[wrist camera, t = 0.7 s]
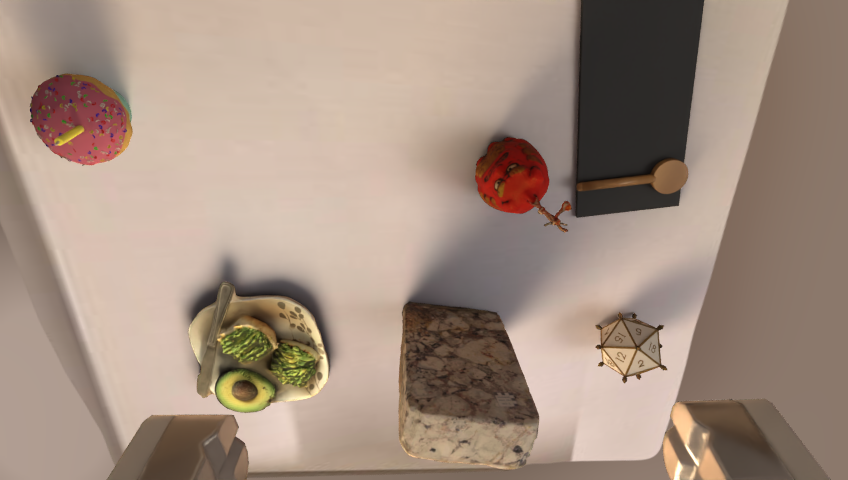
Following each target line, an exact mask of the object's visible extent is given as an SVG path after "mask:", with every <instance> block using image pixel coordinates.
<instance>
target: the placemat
mask: <svg viewBox="0 0 848 480" xmlns="http://www.w3.org/2000/svg"><path fill="white" fill-rule="evenodd" d="M703 6H704V0H581V35H580V72H579V109H578V146H577V184H578V183H580V182H589V181H597V180H606V179H614V178H623V177H631V176H640V175H648V174H651V171H652V169H653V168H654V166H655V165H656V164H657V163H659V162H660V161H662V160H664V159H668V158H675V159H678V160H680V161H681V162H683V163H684V159H685V150H686V142H687V134H688V126H689V118H690V110H691V102H692V94H693V86H694V78H695V70H696V62H697V54H698V46H699V38H700V30H701V22H702V14H703ZM577 184H576V186H577ZM680 191H681V188H680V189H679V190H678V191H676V192H674V193H670V194H662V193H660V192H658V191H656V190H655V189H654V188H653V187H652V186H651V183H648V184H639V185H631V186H622V187H614V188H605V189H597V190H588V191H578V190H577V188H576V217H586V216H594V215H603V214H611V213H620V212H629V211H637V210H646V209H654V208H663V207H671V206H679V199H680Z"/></svg>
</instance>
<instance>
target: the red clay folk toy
mask: <svg viewBox="0 0 848 480" xmlns="http://www.w3.org/2000/svg"><path fill="white" fill-rule="evenodd" d="M476 165H477V167H476V175H475V179H476V182H477V184H478V192H479V194H480V196H481V198H482V199H483V200H484V201H485V202H486V203H487V204H488V205H489V206H491V207H493V208H495V209H497V210H500V211H504V212H509V213H517V214H521V213H525V212H527V211H529V210H531V209H532V208H533V207H537V208H539V210H538V213H539V214H544V215H545V216H546V217H547V218H548V220H549V221H550V222H551V223H547V224H545V225H544V226H547V225H549V224H552V225H557V227H558V228H559V229H560V230H561V231H563V232H564V233H565V232H568V230H567V229H564V228H562V227H561V226H560V224H562V225H565V226H567V224H564V223H560V220H559V219H558V216H559V215H560V214H561V213H562V212H564V211H569V210H571V209H572V208H571V205H570V203H569V202H568V201H565V202H564V203H563V204H562V207H561V209H560V210H559V212H558V213H556V215H555V216H553V215H551V214H550V213H548V212H547V211H546V210H545V208H544V207H542V206H541V205H540V202H539V201H540V200H541V199H542V197H543V196H544V195H545V193H546V192H547V189H548V186H549V177H548V170H547V166H546V163H545V161H544V159H543V158H542V156H541V155H540V154H539V152H538V151H537V150H536V149H535V148H534V147H533V146H532V145H531V144H530V143H529V142H527V141H526V140H523V139H516V138H512V137H507V138H506V139H504V140H503V141H501V142H493V143H491V144H490V145H489V146H488V150H487V155H485V156H482V157H481V158H480V159H479V160H478V161H477V163H476Z"/></svg>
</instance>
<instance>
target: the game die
mask: <svg viewBox="0 0 848 480" xmlns="http://www.w3.org/2000/svg"><path fill="white" fill-rule="evenodd" d="M618 316H619V318H620V319H618V320H616V321H614V322H612V323H610V324H609V325H607V326H605V327H603V328H602V327H601V326H600V325H596V327H597V329H600V330H601V345H597V346H596V348H597V349H601V352H602V360H603V362H600V363H599V365H598V366H601V367H602V366H603V365H604V364H605V365H607V366H609V367H610V368H612V369H613V370H615V371H616V372H618V373H620V374H621V375H623V376H624V377H623V379H622V380H623V382H624V383H625V382H627V378H626V377H629V376H634V375H636V377H637V378H638V379H639V380H640V378H641V375H640V374H641V373H644V372H647V371H649V370H652V369H655V368H658V367H660V368H661V369H663V370H667V368H666V366H664V365H661V357H660V348H661V347H662V345H661V344H659V331H658V330H661V329H663V327H664V325H659V326H658V327H657V328H655V327H653V326H651V325H648V324H646V323H644V322H642V321H640V320H637V319H635V318H636V316H637V315H636V314H635V313H634V314H632V318H622V317H623V315H622V314H621V313H620V312H619V314H618Z"/></svg>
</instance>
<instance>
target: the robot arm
mask: <svg viewBox="0 0 848 480" xmlns="http://www.w3.org/2000/svg"><path fill="white" fill-rule="evenodd" d="M670 417H671V419H672V421H673V423H674V426H673V427H672V428H670V429H669V430H668V431H667V432H665V436H664V441H663V457H664V463H665V466H666V470H667V473H668V475H669V478H670V480H831V479H830V478H829V477H828V475H827V474H826V473H825V471H824V470H823V469H822V467H821V466H820V465H819V464H818V462H817V461H816V460H815V458H814V457H813V456H812V454H811V453H810V452H809V450H808V449H807V448H806V447H805V445H804V444H803V443H802V441H801V440H800V439H799V438H798V436H797V435H796V433H795V432H794V431H793V430H792V428H791V427H790V426H789V424H788V423H787V422H786V421H785V419H784V418H783V417H782V415H781V414H780V413H779V411H778V410H777V409H776V407H775V406H774V405H773V404H772V403H771V402H769V401H768V400H766V399H740V400H732V399H727V400H703V401H680V402H679V401H678V402H677V403H675V404H674V405H673V407H672V411H671V414H670ZM238 428H239V426H238V424H237V422H236V419H235V417H234V415H151V416H150V417H149V418H147V419H146V420H145V421H144V422H143V423H142V424H141V426H140V428H139V429H138V431H137V432H136V434H135V436H134V437H133V439H132V440H131V442H130V443H129V445H128V447H127V448H126V450H125V451H124V453H123V455H122V456H121V458H120V459H119V461H118V463H117V464H116V466H115V468H114V469H113V471H112V472H111V474H110V475H109V477H108V479H107V480H247V472H248V465H249V461H248V452H247V449H246V446H245V443H244V442H243V441H241V440H240V439H238V438H237V437H236V436H235V435H236V433H237V430H238Z"/></svg>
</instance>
